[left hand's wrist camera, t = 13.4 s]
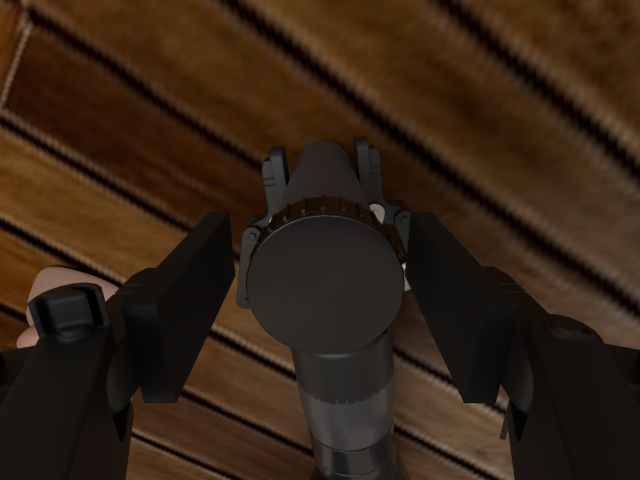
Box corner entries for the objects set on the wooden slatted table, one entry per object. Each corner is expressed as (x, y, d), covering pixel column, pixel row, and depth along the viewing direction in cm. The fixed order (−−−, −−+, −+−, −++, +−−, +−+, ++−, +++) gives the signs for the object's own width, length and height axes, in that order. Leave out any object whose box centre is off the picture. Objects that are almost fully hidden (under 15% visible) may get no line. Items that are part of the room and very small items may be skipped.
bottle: (304, 201, 30) (279, 352, 12) (289, 148, 28) (234, 237, 11) (356, 187, 29) (407, 324, 12) (343, 133, 28) (379, 200, 10)
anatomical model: (-25, 284, 28) (124, 296, 28) (15, 262, 32) (146, 273, 32) (13, 411, 33) (140, 420, 33) (44, 379, 37) (158, 388, 37)
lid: (279, 333, 14) (273, 370, 12) (234, 214, 12) (218, 236, 10) (406, 304, 13) (420, 338, 11) (378, 176, 12) (389, 191, 10)
